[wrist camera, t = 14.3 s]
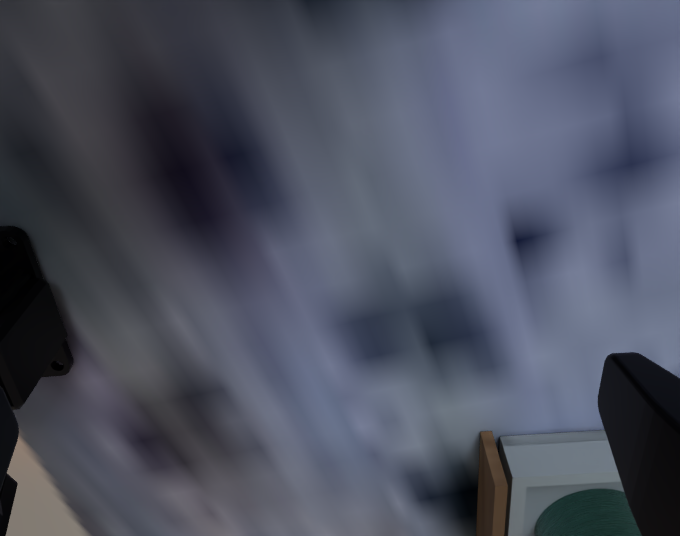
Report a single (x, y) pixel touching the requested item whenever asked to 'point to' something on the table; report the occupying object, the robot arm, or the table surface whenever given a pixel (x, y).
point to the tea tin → (588, 515)
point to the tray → (552, 472)
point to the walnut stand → (490, 489)
